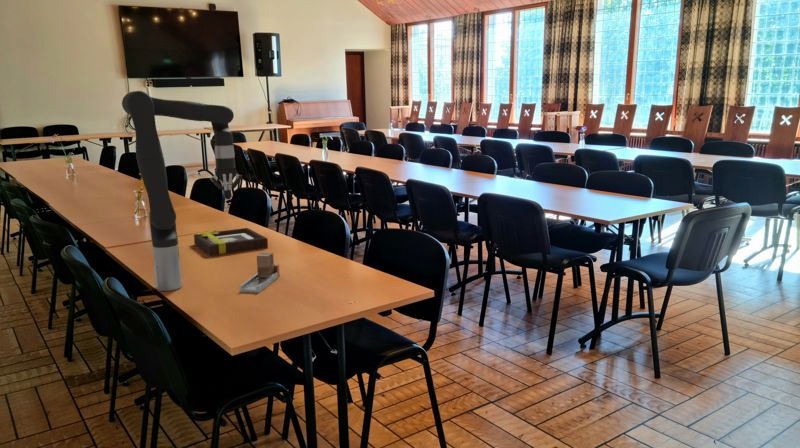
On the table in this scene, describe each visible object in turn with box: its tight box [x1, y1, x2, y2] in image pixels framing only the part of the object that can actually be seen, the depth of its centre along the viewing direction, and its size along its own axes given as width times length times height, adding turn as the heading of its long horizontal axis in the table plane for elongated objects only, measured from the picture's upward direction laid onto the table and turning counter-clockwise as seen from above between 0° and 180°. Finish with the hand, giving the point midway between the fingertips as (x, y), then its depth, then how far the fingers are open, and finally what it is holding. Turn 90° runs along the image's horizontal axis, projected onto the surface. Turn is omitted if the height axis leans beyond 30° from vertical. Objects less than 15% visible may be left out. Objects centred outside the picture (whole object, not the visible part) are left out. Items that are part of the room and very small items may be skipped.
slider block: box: [256, 251, 275, 278], centre depth 244 cm, size 5×5×9 cm
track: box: [239, 263, 281, 294], centre depth 239 cm, size 22×8×5 cm, turn 170°
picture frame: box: [193, 227, 269, 257], centre depth 300 cm, size 28×7×30 cm
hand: (227, 199), depth 245 cm, fingers closed
